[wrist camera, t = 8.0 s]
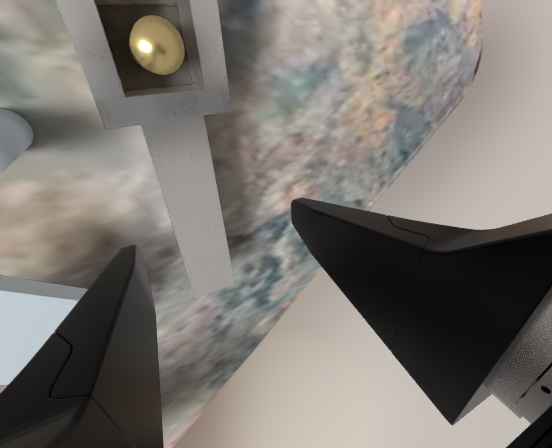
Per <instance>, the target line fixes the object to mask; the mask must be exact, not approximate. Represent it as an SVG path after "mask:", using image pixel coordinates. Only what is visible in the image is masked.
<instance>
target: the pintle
mask: <svg viewBox="0 0 552 448" xmlns="http://www.w3.org/2000/svg"><path fill="white" fill-rule="evenodd" d="M129 50H130V53H131V55H132V57H133V58H134V60H135V61H136V62H137V63H138V64H139V65H140V66H141V67H143V68H145V69H147V70H149V71H151V72H154V73H156V74H161V75H166V74H171V73H173V72H175V71H176V70H177V69H178V68H179V67H180V66H181V64H182V62H183V60H184V54H185V49H184V43H183V40H182V37H181V35H180V33H179V32H178V30H177V29H176V28H175V27H174V26H173V24H171V23H170V22H169V21H168V20H166V19H164V18H162V17H159V16H155V15H148V16H144V17H142V18H140V19H139V20H138V21H137V22H136V23H135V25H134V26H133V28H132V31H131V34H130V36H129Z"/></svg>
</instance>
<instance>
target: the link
mask: <svg viewBox="0 0 552 448" xmlns="http://www.w3.org/2000/svg"><path fill="white" fill-rule="evenodd" d="M56 1H57V3H58V6H59V8H60V11H61V14H62V16H63V19H64V22H65V24H66V27H67V29H68V32H69V35H70V37H71V40H72V42H73V45H74V48H75V50H76V53H77V55H78V58H79V61H80V63H81V66H82V69H83V71H84V74H85V76H86V79H87V82H88V84H89V87H90V89H91V92H92V95H93V97H94V100H95V103H96V105H97V108H98V110H99V113H100V116H101V118H102V121H103V123H104V126H105V129H113V128H120V127H127V126H134V125H141V126H142V129H143V132H144V135H145V139H146V142H147V145H148V148H149V152H150V155H151V158H152V161H153V164H154V168H155V171H156V174H157V177H158V181H159V184H160V187H161V190H162V193H163V197H164V200H165V203H166V206H167V210H168V213H169V216H170V219H171V222H172V226H173V229H174V232H175V235H176V239H177V242H178V245H179V248H180V251H181V255H182V258H183V261H184V264H185V268H186V271H187V274H188V277H189V280H190V284H191V287H192V290H193V293H194V297H195V298H198V297H201V296H203V295H206V294H209V293H211V292H214V291H217V290H219V289H222V288H225V287H228V286H230V285H233V284H235V282H234V276H233V271H232V265H231V260H230V255H229V249H228V244H227V238H226V233H225V228H224V222H223V217H222V211H221V206H220V201H219V195H218V190H217V184H216V179H215V174H214V168H213V163H212V157H211V152H210V146H209V141H208V136H207V130H206V125H205V119H204V116H205V115H212V114H220V113H227V112H232V110H231V102H230V95H229V87H228V79H227V72H226V64H225V56H224V49H223V41H222V33H221V26H220V18H219V10H218V3H217V0H56ZM97 4H170V5H177V7H178V12H179V17H180V22H181V27H182V33H183V38H184V43H185V48H186V53H187V58H188V63H189V68H190V74H191V79H192V84H193V85H182V86H172V87H162V88H152V89H142V90H132V91H124V88H123V85H122V82H121V79H120V76H119V72H118V69H117V66H116V63H115V60H114V57H113V54H112V51H111V48H110V44H109V41H108V38H107V35H106V32H105V29H104V26H103V23H102V20H101V16H100V13H99V10H98V7H97Z"/></svg>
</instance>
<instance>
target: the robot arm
mask: <svg viewBox="0 0 552 448" xmlns="http://www.w3.org/2000/svg"><path fill="white" fill-rule="evenodd" d="M291 220H292V224H293V226H294V227H295V229H296V231H297V232H298V234H299V235H300V237H301V238H302V240H303V242H304V243H305V245H306V246H307V248H308V249H309V251H310V252H311V254H312V255H313V256H314V258H315V259H316V260H317V261H318V263H319V264H320V265H321V266H322V267H323V269H324V270H325V271H326V272H327V274H328V275H329V276H330V277H331V279H332V280H333V281H334V282H335V283H336V285H337V286H338V287H339V288H340V290H341V291H342V292H343V293H344V294H345V296H346V297H347V298H348V299H349V301H350V302H351V303H352V304H353V306H354V307H355V308H356V309H357V310H358V312H359V313H360V314H361V315H362V316H363V318H364V319H365V320H366V321H367V323H368V324H369V325H370V326H371V327H372V329H373V330H374V331H375V332H376V334H377V335H378V336H379V337H380V338H381V340H382V341H383V342H384V344H385V345H386V346H387V347H388V348H389V350H391V352H392V353H393V355H394V356H395V357H396V359H397V360H398V361H399V362H400V363H401V365H402V366H403V367H404V368H405V370H406V371H407V372H408V373H409V374H410V376H411V377H412V378H413V379H414V380H415V381H416V383H417V384H418V385H419V387H420V388H421V389H422V390H423V391H424V393H425V394H426V395H427V396H428V398H429V399H430V400H431V401H432V403H433V404H434V405H435V406H436V408H437V409H438V410H439V411H440V412H441V414H442V415H443V416H444V417H445V418H446V420H447V421H448V422H449V423H450V424H451V425H454V424H455V423H456V422H458V421H459V420H460V419H461V418H462V417H464V416H465V415H466V414H467V413H469V412H470V411H471V410H473V409H474V408H475V407H476V406H477V405H479V404H480V403H481V402H482V401H484V400H485V399H486V398H487V397H489V396H490V395H491V394H493V395H494V396H495V397H497V398H498V399H499V400H500V401H501V402H502V403H503V404H504V405H505V406H507V407H508V408H509V409H510V410H511V411H512V412H513V413H514V414H515V415H516V416H518V417H519V418H522V417H524V418H525V419H527V420H528V421H529V422H530V423H531V425H530V426H529V427H528V428H527V429H525V430H524V431H523V432H522V433H521V434H520V435H519V436H518V437H517V438H516V439H515V440H514V441H513V442H512V443H510V444H509V446H507V447H506V448H552V214H549V215H545V216H541V217H538V218H534V219H530V220H527V221H523V222H519V223H516V224H512V225H508V226H504V227H500V228H496V229H490V230H473V229H465V228H459V227H452V226H446V225H439V224H433V223H427V222H420V221H415V220H409V219H404V218H399V217H394V216H389V215H388V216H386V215H384V214H379V213H374V212H369V211H365V210H360V209H355V208H350V207H345V206H340V205H336V204H331V203H326V202H321V201H316V200H311V199H307V198H298V199H294V200H293V201H292V202H291ZM0 448H164V447H163V430H162V413H161V396H160V379H159V362H158V345H157V328H156V314H155V307H154V301H153V297H152V292H151V287H150V283H149V278H148V273H147V269H146V266H145V263H144V261H143V258H142V256H141V254H140V251H139V249H138V247H137V245H130V246H127V247H123V248H121V249H120V250H119V252H118V253H117V254H116V255H115V257H114V258H113V259H112V260H111V261H110V263H109V264H108V265H107V266H106V268H105V269H104V270H103V271H102V273H101V274H100V275H99V276H98V278H97V279H96V280H95V281H94V283H93V284H92V285H91V286H90V288H89V289H88V290H87V291H86V292H85V294H84V295H83V296H82V297H81V299H80V300H79V301H78V302H77V304H76V305H75V306H74V307H73V309H72V310H71V311H70V312H69V314H68V315H67V316H66V317H65V319H64V320H63V321H62V322H61V323H60V325H59V326H58V327H57V328H56V330H55V333H53V334H51V336H50V337H49V338H48V339H47V341H46V342H45V343H44V344H43V346H42V347H41V348H40V349H39V350H38V352H37V353H36V354H35V355H34V356H33V357H32V359H31V360H30V361H29V362H28V363H27V365H26V366H25V367H24V368H23V369H22V370H21V371H20V372H19V374H18V375H17V376H16V377H15V378H14V379H13V380H12V381H11V382H10V383H9V385H8V386H7V387H6V388H5V389H4V390H3V391H2V392H1V393H0Z"/></svg>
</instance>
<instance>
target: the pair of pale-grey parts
mask: <svg viewBox="0 0 552 448" xmlns="http://www.w3.org/2000/svg"><path fill="white" fill-rule="evenodd" d="M33 139H34V133H33V130H32V128H31V126H30V124H29V123H28V122H27V121H26V120H25V119H24V118H23V117H21V116H20V115H18V114H16V113H14V112H12V111H9V110H6V109H0V172H1V171H3V170H5V169H6V168H7V167H8V166H9V165H10V164H11V163H13V162H14V161H15V160H16V159H17V158H18V157H19V156H20V155H21V154H22V153H23V152H24V151H25V150H26V149H27V148H28V147H29V146H30V145H31V144H32V142H33ZM87 290H88V289H84V288H78V287H71V286H65V285H59V284H52V283H46V282H40V281H33V280H27V279H20V278H14V277H8V276H1V275H0V385H9V383H10V382H11V381H12V380H13V379H14V378H15V377H16V376H17V375H18V374H19V372H20V371H21V370H22V369H23V368H24V367H25V366H26V365H27V363H28V362H29V361H30V360H31V359H32V357H33V356H34V355H35V354H36V353H37V352H38V350H39V349H40V348H41V347H42V346H43V344H44V343H45V342H46V341H47V339H48V338H49V337H50V336H51V334H53V333H55V330H56V328H57V327H58V326H59V325H60V323H61V322H62V321H63V320H64V319H65V317H66V316H67V315H68V314H69V312H70V311H71V310H72V309H73V307H74V306H75V305H76V304H77V302H78V301H79V300H80V299H81V297H82V296H83V295H84V294H85V292H86V291H87Z"/></svg>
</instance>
